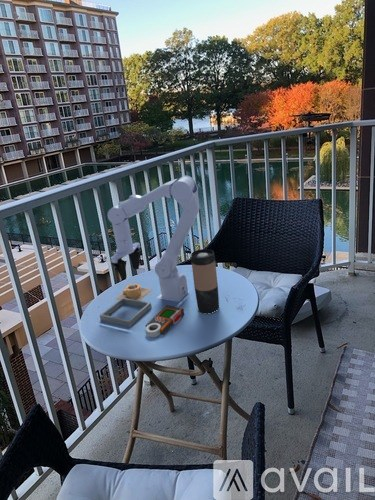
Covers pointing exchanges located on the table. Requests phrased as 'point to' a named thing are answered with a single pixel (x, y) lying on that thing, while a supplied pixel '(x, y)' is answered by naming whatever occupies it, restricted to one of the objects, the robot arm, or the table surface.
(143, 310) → the tray
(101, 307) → the table surface
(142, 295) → the tan square plate
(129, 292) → the ring
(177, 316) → the electronic device
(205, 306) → the travel mug
